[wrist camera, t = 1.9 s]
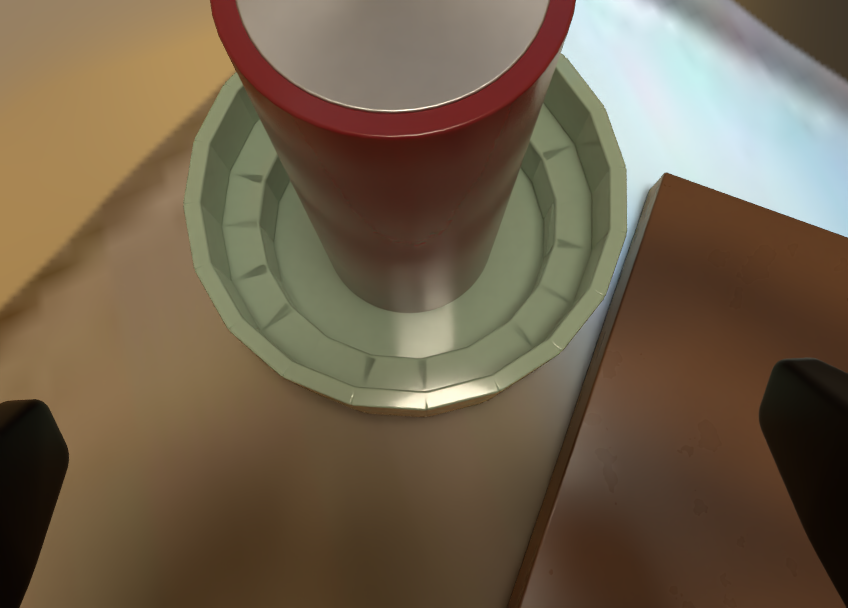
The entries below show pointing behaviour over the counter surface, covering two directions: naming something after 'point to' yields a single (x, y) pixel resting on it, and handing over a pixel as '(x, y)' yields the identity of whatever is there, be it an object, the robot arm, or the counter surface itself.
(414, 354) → the bowl
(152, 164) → the counter surface
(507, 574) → the counter surface
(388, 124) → the drink can
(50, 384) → the counter surface
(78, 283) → the counter surface
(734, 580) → the cutting board
